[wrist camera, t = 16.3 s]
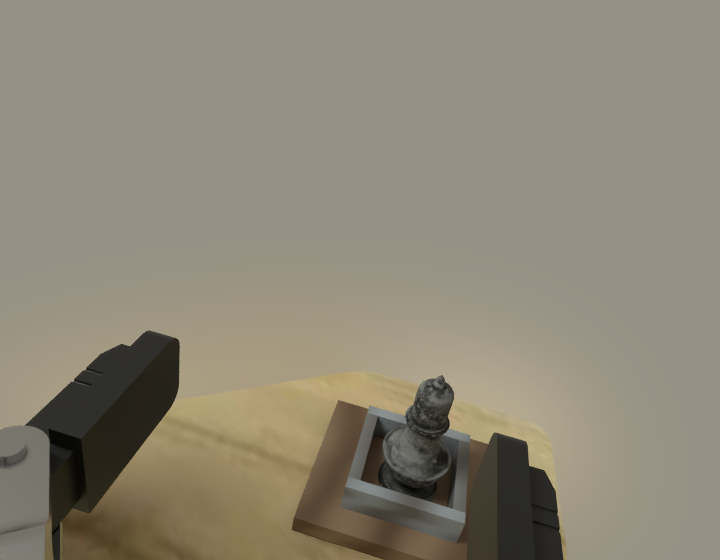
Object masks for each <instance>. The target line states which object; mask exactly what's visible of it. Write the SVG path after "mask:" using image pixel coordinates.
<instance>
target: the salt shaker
mask: <svg viewBox="0 0 720 560" xmlns="http://www.w3.org/2000/svg"><path fill="white" fill-rule="evenodd" d="M453 400H454V392H453V390H452V388H451V387H450V385H449V384H447V383H446V382H445V379H444V377H443V376H439V377H437V378H436V379H428V380H426V381H423V382H422V383H421V384H420V386H419V388H418V391H417V394H416V397H415V401H414V404H413V405H412V406H410V407H409V408H408V409H407V411H406V415H405V418H406V421H407V423H406V426H401V427H397V428H395V429H393V430H391V431H390V432H389V433H388V434H387V435H386V436H385V438H384V440H383V445H382V450H383V455H384V459H385V461H384V462H383V463H382V464H381V465H380V467H379V470H378V481H379V484H380V486H381V487H383V488H387V489H390V490H393V491H396V492H399V493H403V494H406V495H409V496H412V497H416V498H419V499H422V500H425V501H431V500H432V498H433V497H434V496H435V494H436V491H437V481H438V480H439V478H441V477H443V476H444V475H445V474H446V473H447V471H448V470H449V467H450V464H451V456H450V453H449V450H448V448H447V446H446V445H445V443H444V442H443V441H442V440H441V437H442V435H443V434H445V433H446V432H447V431H448V428H449V419H448V414H449V411H450V408H451V406H452V403H453Z"/></svg>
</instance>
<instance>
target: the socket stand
mask: <svg viewBox="0 0 720 560" xmlns="http://www.w3.org/2000/svg"><path fill="white" fill-rule="evenodd" d="M406 423H407V421H406V418H405V416H403V415H400V414H396V413H393V412H390V411H386V410H383V409H379V408H376V407H373V406H369V409H366V408H363V407H360V406H356V405H353V404H350V403H346V402H343V401H339V400H338V403H337V405H336V408H335V411H334V413H333V416H332V419H331V421H330V424H329V427H328V429H327V432H326V434H325V437H324V440H323V442H322V445H321V448H320V450H319V453H318V456H317V458H316V461H315V464H314V466H313V469H312V471H311V474H310V477H309V479H308V482H307V485H306V487H305V490H304V493H303V495H302V498H301V501H300V503H299V506H298V508H297V511H296V514H295V516H294V520H293V526H292V530H295V531H298V532H301V533H304V534H307V535H310V536H313V537H317V538H320V539H323V540H326V541H329V542H332V543H335V544H338V545H341V546H345V547H348V548H351V549H354V550H357V551H360V552H363V553H366V554H369V555H373V556H376V557H379V558H382V559H385V560H467V543H468V524H469V505H470V495H471V489H472V485H473V481H474V478H475V475H476V472H477V470H478V468H479V465H480V463H481V461H482V458H483V456H484V454H485V451H486V449H487V446H488V444H485V443H482V442H479V441H475V440H472V439H470V435H468V434H465V433H461V432H458V431H454V430H451V429H448V431H447V432H446V433H445V434H443V435H442V437H441V440H442V441H443V442H444V443H445V445H446V446H447V448H448V450H449V453H450V456H451V464H450V467H449V470H448V471H447V473H446V474H445V475H444V476H443V477H441V478H439V480H438V481H437V491H436V494H435V496H434V497H433V498H432V500H431V501H425V500H422V499H419V498H416V497H412V496H409V495H406V494H403V493H399V492H396V491H393V490H390V489H387V488H383V487H381V486H380V484H379V481H378V470H379V467H380V465H381V464H382V463H383V462H384V461H385V459H384V455H383V450H382V445H383V440H384V438H385V436H386V435H387V434H388V433H389V432H390V431H391V430H393V429H395V428H397V427H401V426H406Z"/></svg>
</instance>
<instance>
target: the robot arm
mask: <svg viewBox="0 0 720 560" xmlns="http://www.w3.org/2000/svg"><path fill="white" fill-rule="evenodd" d="M179 349H180V346H179V340H178V339H176V338H174V337H170V336H167V335H163V334H160V333H156V332H153V331H146V332H145V333H143V334H142V335H141V336H140V337H139V338H138V339H137V340H136V341H135V342H134V343H133V344H132V345H131V346H126V345H123V344H121V345H119V346H116V347H114V348H112V349H110V350H109V351H106V352H104V353H102V354H100V355H99V356H98V357H97V358H96V359H95V360H94V361H93V362H92V363H91V364H90V365H89V366H88V367H87V368H86V370H85V371H82V372H81V373H80V374H79V375H78V376H77V377H76V378H75V379H74V382H71V383H70V384H68V386H66V387H65V388H64V389H63V390H62V391H61V392H60V393H59V394H58V395H57V396H56V397H55V398H54V399H53V400H51V401H50V402H49V403H48V404H47V405H46V406H45V407H44V408H43V409H42V410H41V411H40V412H39V413H38V414H37V415H36V416H35V417H33V418H32V419H31V420H30V421H29V422H28V423H27V424H26V425H25V426H12V427H7V428H3V429H0V560H63V558H62V522H61V521H62V520H63V519H64V518H65V516H66V515H67V514H68V513H69V512H70V510H71V509H72V508H74V509H77V510H80V511H83V512H86V513H89V514H90V512H91V511H92V510H93V508H94V507H95V506H96V504H97V503H98V502H99V501H100V499H101V498H102V497H103V495H104V494H105V493H106V491H107V490H108V489H109V487H110V486H111V485H112V484H113V482H114V481H115V480H116V478H117V477H118V476H119V474H120V473H121V472H122V470H123V469H124V468H125V467H126V465H127V464H128V463H129V461H130V460H131V459H132V457H133V456H134V455H135V454H136V452H137V451H138V450H139V448H140V447H141V446H142V444H143V443H144V442H145V440H146V439H147V438H148V437H149V435H150V434H151V433H152V431H153V430H154V429H155V427H156V426H157V425H158V423H159V422H160V421H161V420H162V418H163V417H164V416H165V414H166V413H167V412H168V410H169V409H170V408H171V406H172V404H173V402H174V400H175V397H176V395H177V392H178V387H179ZM557 512H558V509H557V501H556V492H555V489H554V488H553V486H552V484H551V482H550V480H549V478H548V476H547V474H546V473H545V471H544V470H541V469H538V468H535V467H531V466H529V460H528V446H527V443H526V441H523V440H519V439H516V438H512V437H509V436H506V435H502V434H499V433H494V434H493V435H492V437H491V439H490V442H489V444H488V446H487V449H486V451H485V454H484V456H483V458H482V461H481V463H480V465H479V468H478V470H477V472H476V475H475V478H474V481H473V485H472V489H471V495H470V505H469V524H468V543H467V560H563V553H562V544H561V535H560V533H559V529H560V527H559V518H558V516H557Z"/></svg>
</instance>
